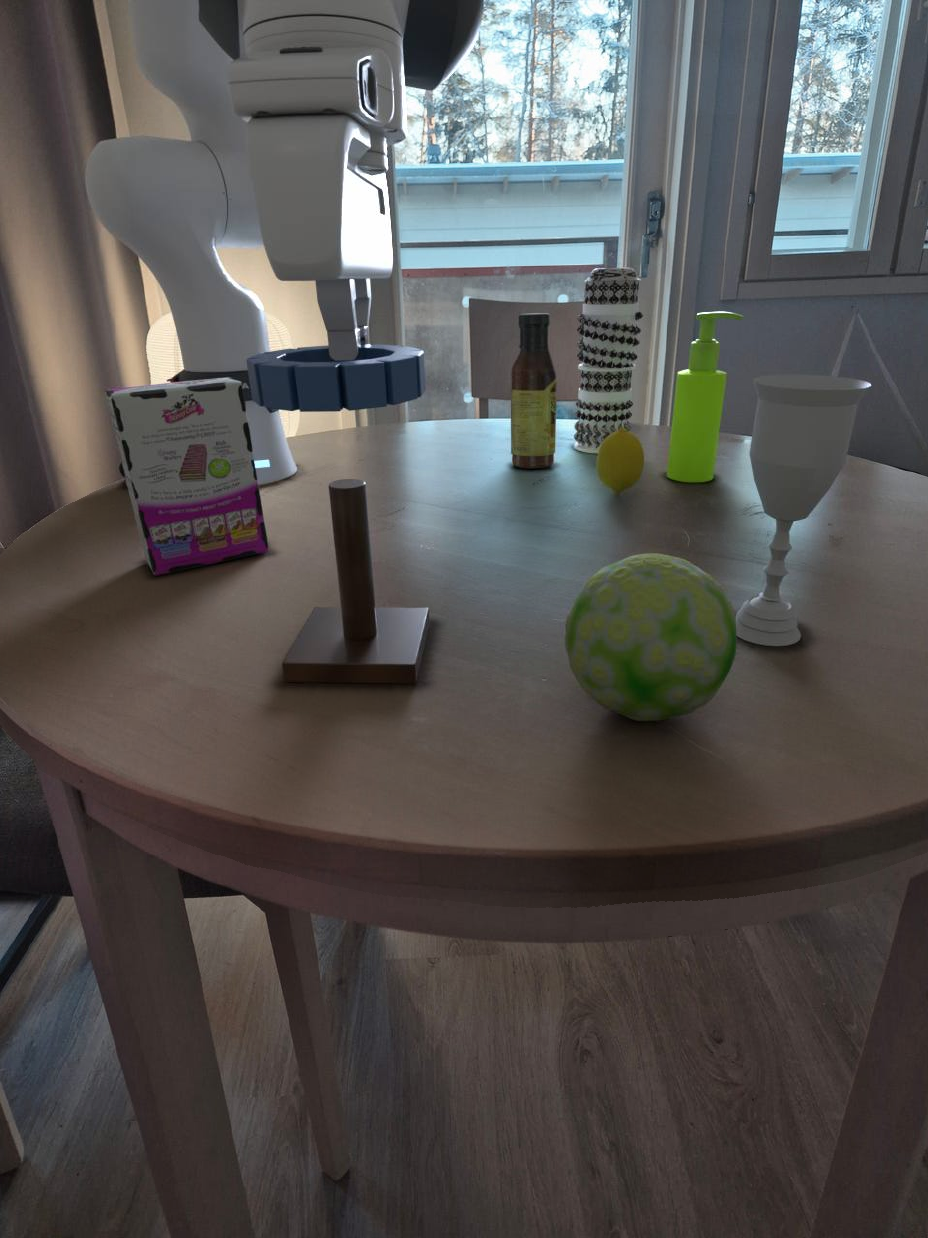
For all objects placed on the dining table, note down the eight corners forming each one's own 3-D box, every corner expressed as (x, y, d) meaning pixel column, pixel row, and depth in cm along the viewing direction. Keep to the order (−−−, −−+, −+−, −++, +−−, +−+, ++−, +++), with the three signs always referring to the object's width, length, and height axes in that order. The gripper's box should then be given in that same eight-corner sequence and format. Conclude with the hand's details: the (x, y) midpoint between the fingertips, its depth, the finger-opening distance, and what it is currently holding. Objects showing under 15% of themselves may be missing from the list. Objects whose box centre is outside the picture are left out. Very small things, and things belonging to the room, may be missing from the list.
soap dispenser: (721, 484, 91) (744, 313, 82) (664, 480, 93) (682, 313, 84) (721, 473, 96) (744, 310, 87) (668, 470, 98) (685, 310, 89)
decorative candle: (595, 438, 117) (606, 268, 106) (643, 447, 111) (659, 266, 100) (559, 447, 111) (566, 268, 100) (607, 457, 105) (620, 267, 94)
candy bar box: (255, 539, 75) (229, 375, 68) (270, 553, 71) (245, 380, 64) (142, 561, 70) (101, 386, 63) (152, 577, 66) (110, 393, 59)
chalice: (837, 645, 52) (898, 385, 44) (757, 659, 50) (805, 392, 42) (771, 605, 58) (814, 372, 50) (697, 616, 56) (730, 377, 49)
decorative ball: (737, 763, 40) (767, 598, 35) (556, 747, 41) (564, 588, 37) (713, 674, 48) (735, 533, 44) (565, 663, 50) (572, 527, 46)
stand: (284, 682, 48) (257, 503, 43) (316, 623, 57) (297, 466, 51) (416, 684, 48) (406, 503, 42) (429, 624, 56) (422, 466, 51)
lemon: (641, 501, 85) (647, 433, 81) (593, 499, 86) (598, 432, 82) (640, 488, 90) (646, 423, 86) (595, 487, 91) (599, 422, 87)
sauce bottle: (560, 469, 99) (566, 313, 91) (516, 471, 98) (518, 315, 90) (547, 458, 105) (552, 311, 96) (505, 460, 104) (506, 312, 96)
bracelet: (228, 412, 40) (221, 367, 39) (283, 382, 49) (278, 345, 48) (412, 410, 39) (409, 365, 38) (432, 380, 49) (430, 342, 48)
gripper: (318, 136, 51) (337, 343, 57) (211, 59, 33) (256, 377, 39) (406, 133, 51) (416, 342, 57) (348, 53, 32) (371, 375, 38)
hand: (350, 356), depth 47 cm, fingers closed on bracelet, 2 cm apart
